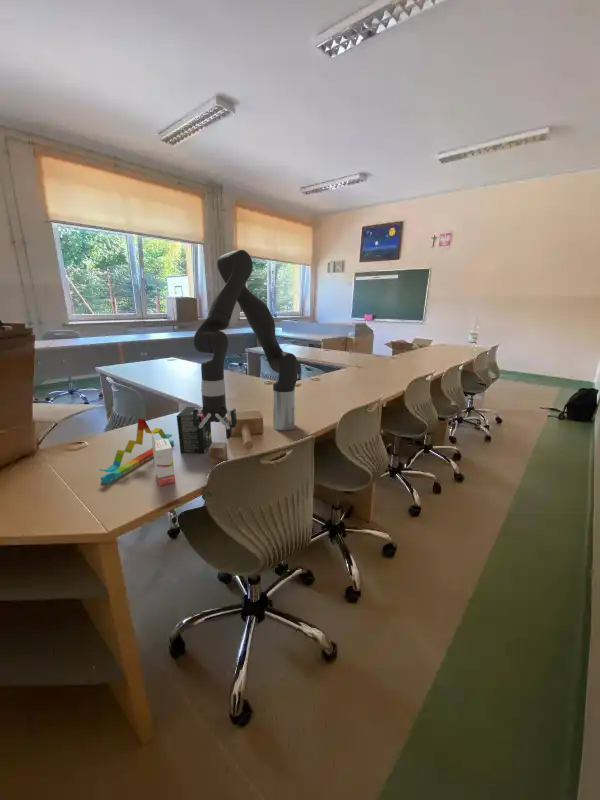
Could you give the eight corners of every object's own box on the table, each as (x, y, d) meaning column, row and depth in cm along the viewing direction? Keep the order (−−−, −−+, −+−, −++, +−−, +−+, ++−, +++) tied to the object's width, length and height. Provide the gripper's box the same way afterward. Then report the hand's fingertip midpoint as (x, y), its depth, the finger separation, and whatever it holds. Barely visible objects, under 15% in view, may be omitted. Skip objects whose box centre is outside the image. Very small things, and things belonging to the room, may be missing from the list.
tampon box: (204, 453, 124) (201, 416, 120) (179, 453, 124) (175, 415, 120) (212, 441, 135) (210, 406, 130) (189, 441, 135) (186, 405, 130)
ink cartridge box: (176, 482, 105) (171, 438, 101) (159, 486, 103) (153, 441, 98) (171, 470, 112) (166, 429, 108) (155, 474, 110) (150, 431, 105)
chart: (109, 484, 104) (101, 439, 99) (101, 482, 105) (93, 438, 100) (174, 445, 131) (170, 408, 127) (167, 444, 132) (163, 407, 128)
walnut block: (227, 458, 121) (226, 442, 119) (224, 464, 116) (223, 448, 115) (213, 457, 121) (212, 441, 119) (209, 464, 116) (208, 448, 115)
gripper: (237, 389, 115) (238, 434, 120) (195, 388, 115) (198, 433, 120) (232, 396, 108) (234, 443, 113) (188, 394, 108) (191, 441, 113)
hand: (215, 437), depth 116 cm, fingers open, 8 cm apart
